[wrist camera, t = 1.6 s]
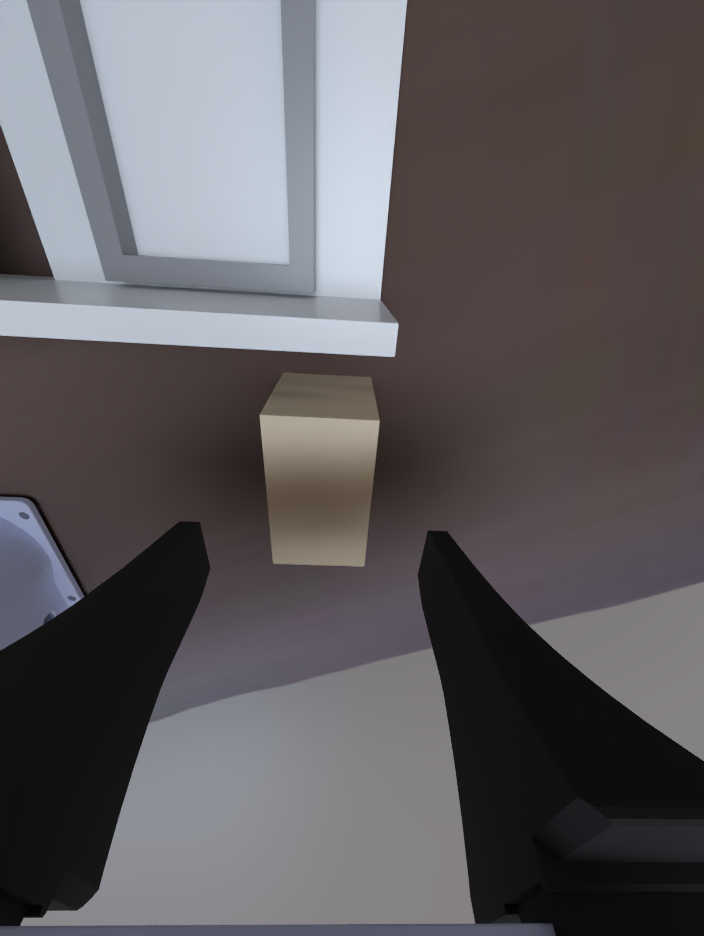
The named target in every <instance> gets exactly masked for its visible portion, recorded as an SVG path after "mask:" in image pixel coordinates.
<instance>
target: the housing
mask: <svg viewBox="0 0 704 936" xmlns="http://www.w3.org/2000/svg"><path fill="white" fill-rule="evenodd" d="M406 6H407V0H0V124H1V127H2V130H3V133H4V136H5V139H6V142H7V144H8V147H9V150H10V153H11V156H12V159H13V162H14V164H15V167H16V170H17V173H18V176H19V179H20V181H21V184H22V187H23V190H24V193H25V196H26V199H27V201H28V204H29V207H30V210H31V213H32V216H33V219H34V221H35V224H36V227H37V230H38V233H39V236H40V238H41V241H42V244H43V247H44V250H45V253H46V256H47V258H48V261H49V264H50V267H51V270H52V273H53V275H54V277H44V276H28V275H12V274H0V335H2V336H20V337H38V338H56V339H75V340H93V341H111V342H129V343H148V344H166V345H184V346H202V347H221V348H239V349H257V350H275V351H294V352H312V353H330V354H349V355H367V356H385V357H395V349H396V341H397V333H398V324H399V323H398V322H397V321H396V320H395V318H394V317H393V316H392V314H391V313H390V312H389V310H388V309H387V308H386V307H385V305H384V304H383V303H382V301H381V300H380V297H381V285H382V274H383V263H384V252H385V241H386V230H387V218H388V207H389V196H390V185H391V174H392V163H393V151H394V140H395V129H396V118H397V107H398V96H399V84H400V73H401V62H402V51H403V40H404V29H405V17H406Z"/></svg>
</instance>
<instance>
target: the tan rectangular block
mask: <svg viewBox="0 0 704 936" xmlns="http://www.w3.org/2000/svg"><path fill="white" fill-rule="evenodd" d="M379 423H380V419H379V414H378V409H377V404H376V399H375V394H374V389H373V384H372V379H371V377H359V376H340V375H321V374H302V373H283V374H282V376H281V377H280V379H279V381H278V383H277V385H276V386H275V388H274V390H273V392H272V394H271V395H270V397H269V399H268V401H267V402H266V404H265V406H264V408H263V410H262V411H261V413H260V426H261V437H262V447H263V458H264V469H265V480H266V491H267V502H268V513H269V524H270V535H271V545H272V556H273V564H299V565H331V566H363V567H364V563H365V554H366V545H367V535H368V526H369V517H370V507H371V498H372V489H373V479H374V470H375V461H376V451H377V442H378V433H379Z"/></svg>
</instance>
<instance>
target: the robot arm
mask: <svg viewBox="0 0 704 936" xmlns="http://www.w3.org/2000/svg"><path fill="white" fill-rule="evenodd" d="M209 571H210V565H209V560H208V556H207V552H206V547H205V543H204V539H203V535H202V530H201V526H200V522H181V521H180V522H179V523H177V524H176V525H175V526H174V527H172V528H171V529H170V530H169V531H167V532H166V533H165V534H164V535H163V536H161V537H160V538H159V539H158V540H157V541H155V542H154V543H153V544H152V545H150V546H149V547H148V548H147V549H146V550H144V551H143V552H142V553H141V554H139V555H138V556H137V557H136V558H135V559H133V560H132V561H131V562H130V563H128V564H127V565H126V566H125V567H123V568H122V569H121V570H120V571H118V572H117V573H116V574H114V575H113V576H112V577H110V578H109V579H108V580H106V581H105V582H104V583H102V584H101V585H100V586H98V587H97V588H95V589H94V590H93V591H91V592H90V593H89V594H87V595H86V596H85V597H84V595H83V593H82V591H81V590H80V588H79V586H78V584H77V582H76V580H75V579H74V577H73V575H72V573H71V571H70V569H69V567H68V566H67V564H66V562H65V560H64V558H63V556H62V555H61V553H60V551H59V549H58V547H57V545H56V544H55V542H54V540H53V538H52V536H51V534H50V532H49V531H48V529H47V527H46V525H45V523H44V521H43V520H42V518H41V516H40V514H39V512H38V510H37V509H36V507H35V505H34V503H33V502H32V501H30V500H29V499H26V498H22V497H0V936H704V761H703V760H701V759H699V758H698V757H697V756H695V755H694V754H692V753H691V752H689V751H688V750H686V749H685V748H683V747H682V746H681V745H679V744H678V743H676V742H675V741H673V740H672V739H670V738H669V737H667V736H666V735H664V734H663V733H661V732H660V731H659V730H657V729H655V728H654V727H653V726H651V725H650V724H648V723H647V722H646V721H644V720H643V719H641V718H640V717H639V716H637V715H636V714H635V713H633V712H632V711H631V710H629V709H628V708H627V707H625V706H624V705H623V704H621V703H620V702H618V701H617V700H616V699H614V698H613V697H612V696H610V695H609V694H608V693H607V692H605V691H604V690H603V689H601V688H600V687H599V686H598V685H596V684H595V683H594V682H592V681H591V680H590V679H589V678H587V677H586V676H585V675H584V674H583V673H582V672H580V671H579V670H578V669H577V668H576V667H574V666H573V665H572V664H571V663H569V662H568V661H567V660H566V659H565V658H564V657H562V656H561V655H560V654H559V653H558V652H557V651H556V650H554V649H553V648H552V647H551V646H550V645H549V644H548V643H547V642H546V641H545V640H543V639H542V638H541V637H540V636H539V635H538V634H537V633H536V632H535V631H534V630H533V629H532V628H531V627H530V626H529V625H527V624H526V623H525V622H524V621H523V620H522V619H521V618H520V617H519V616H518V614H517V613H516V612H515V611H514V610H513V609H512V608H511V607H510V606H509V605H508V604H507V603H506V602H505V601H504V600H503V599H502V597H501V596H500V595H499V594H498V593H497V592H496V591H495V590H494V588H493V587H492V586H491V585H490V584H489V583H488V581H487V580H486V579H485V578H484V577H483V576H482V574H481V573H480V572H479V571H478V570H477V568H476V567H475V566H474V565H473V564H472V562H471V561H470V560H469V559H468V557H467V556H466V555H465V553H464V552H463V551H462V550H461V548H460V547H459V546H458V545H457V543H456V542H455V541H454V539H453V538H452V537H451V536H450V534H449V533H448V532H447V531H428V533H427V537H426V542H425V546H424V550H423V555H422V559H421V563H420V568H419V572H418V580H419V588H420V595H421V602H422V608H423V612H424V616H425V620H426V624H427V628H428V632H429V636H430V639H431V643H432V647H433V651H434V655H435V659H436V662H437V667H438V671H439V675H440V679H441V683H442V688H443V692H444V698H445V705H446V710H447V717H448V723H449V729H450V736H451V743H452V749H453V756H454V762H455V770H456V777H457V785H458V792H459V800H460V807H461V815H462V823H463V832H464V841H465V850H466V859H467V867H468V877H469V887H470V897H471V902H472V908H473V913H474V918H475V923H476V924H349V925H348V924H347V925H346V924H345V925H344V924H343V925H342V924H341V925H169V926H168V925H160V926H159V925H153V926H152V925H147V926H20V924H21V922H22V920H23V918H32V917H33V918H34V917H35V918H37V917H38V918H42V917H43V916H44V915H45V914H46V911H48V910H49V911H50V910H51V911H53V910H55V911H56V910H78V909H80V908H81V907H83V906H84V905H85V904H86V903H87V902H88V901H89V900H90V899H91V898H92V897H93V896H94V894H95V893H96V892H97V891H98V889H99V886H100V882H101V878H102V875H103V871H104V867H105V864H106V860H107V857H108V853H109V849H110V846H111V842H112V839H113V835H114V831H115V828H116V824H117V821H118V817H119V814H120V811H121V807H122V804H123V801H124V797H125V794H126V791H127V788H128V785H129V781H130V778H131V774H132V771H133V768H134V764H135V762H136V759H137V756H138V753H139V750H140V747H141V744H142V741H143V737H144V734H145V732H146V729H147V726H148V723H149V720H150V717H151V714H152V711H153V709H154V706H155V703H156V700H157V697H158V694H159V692H160V689H161V686H162V684H163V681H164V679H165V677H166V674H167V672H168V670H169V667H170V665H171V663H172V661H173V659H174V656H175V654H176V652H177V650H178V648H179V646H180V643H181V641H182V639H183V637H184V635H185V633H186V630H187V628H188V626H189V624H190V622H191V619H192V617H193V615H194V613H195V611H196V608H197V606H198V604H199V602H200V599H201V596H202V593H203V590H204V587H205V584H206V581H207V577H208V574H209Z"/></svg>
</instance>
